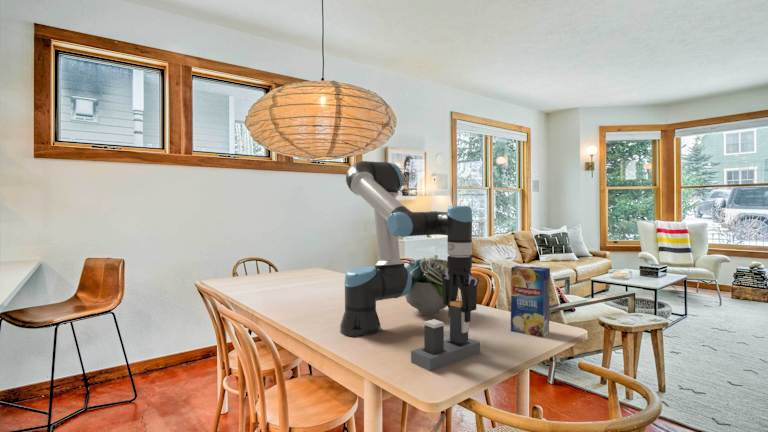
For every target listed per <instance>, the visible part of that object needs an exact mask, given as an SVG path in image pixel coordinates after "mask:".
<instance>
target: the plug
mask: <svg viewBox="0 0 768 432" xmlns="http://www.w3.org/2000/svg"><path fill="white" fill-rule="evenodd" d="M462 310H463V304H462V299H458V300H457V299H456V301H452V302H450V317H449V334H450V340H451V341H454V342H457V343H462V342H465V341H468V338H469V332H466V333H461V312H462Z"/></svg>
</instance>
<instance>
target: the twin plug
mask: <svg viewBox="0 0 768 432" xmlns="http://www.w3.org/2000/svg"><path fill="white" fill-rule="evenodd" d="M423 324H424V330H423V331H424V333H423V334H424V336H423V337H424V345H423V347H424V351H425V352H427V353H430V354H432V355H436V354H439V353H442V352H444V332H445V330H444V329H445V322H443V321H441V320H437V319H435V318H433V319H429V320H425V321H424V322H423Z"/></svg>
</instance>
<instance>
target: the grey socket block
mask: <svg viewBox="0 0 768 432" xmlns="http://www.w3.org/2000/svg"><path fill="white" fill-rule="evenodd" d="M479 354H481V342H480V341H478V340H475V339H472V338H469V337H468V341H465V342H462V343H457V342H454V341H451V340H450V339H448V340H445V341H444V352H442V353H439V354H436V355H432V354H430V353H427V352H425V351H424V346H423V347H420V348H415V349H413V350H411V351H410V364H414V365H415V366H417V367H420V368H422V369H424V370H426V371H428V372H433V371H435V370H438V369H442V368H445V367H446V366H449V365H452V364H455V363H458V362H460V361H462V360H463V361H464V360H466V359H468V358H471V357H474V356H478V355H479Z"/></svg>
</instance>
